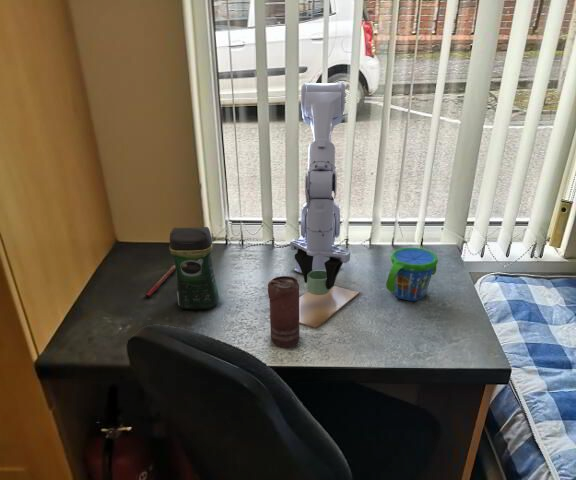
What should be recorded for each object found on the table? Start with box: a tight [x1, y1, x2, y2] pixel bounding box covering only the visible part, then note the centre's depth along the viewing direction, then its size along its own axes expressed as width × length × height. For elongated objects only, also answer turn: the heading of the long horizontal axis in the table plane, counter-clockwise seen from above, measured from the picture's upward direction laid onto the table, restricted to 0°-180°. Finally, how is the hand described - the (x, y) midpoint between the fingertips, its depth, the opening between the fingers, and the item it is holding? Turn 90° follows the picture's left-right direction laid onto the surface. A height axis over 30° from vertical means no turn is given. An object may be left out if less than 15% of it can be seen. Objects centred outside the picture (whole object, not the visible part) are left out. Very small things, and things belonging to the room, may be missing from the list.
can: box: [267, 275, 300, 349], centre depth 118 cm, size 6×6×14 cm
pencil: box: [145, 264, 176, 299], centre depth 147 cm, size 19×1×1 cm, turn 167°
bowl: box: [306, 270, 330, 295], centre depth 132 cm, size 6×6×4 cm
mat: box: [299, 285, 360, 330], centre depth 136 cm, size 11×20×1 cm, turn 146°
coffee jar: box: [169, 226, 220, 311], centre depth 131 cm, size 10×8×19 cm
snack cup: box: [385, 247, 439, 302], centre depth 136 cm, size 16×10×10 cm
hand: (318, 284), depth 133 cm, fingers closed on bowl, 5 cm apart
